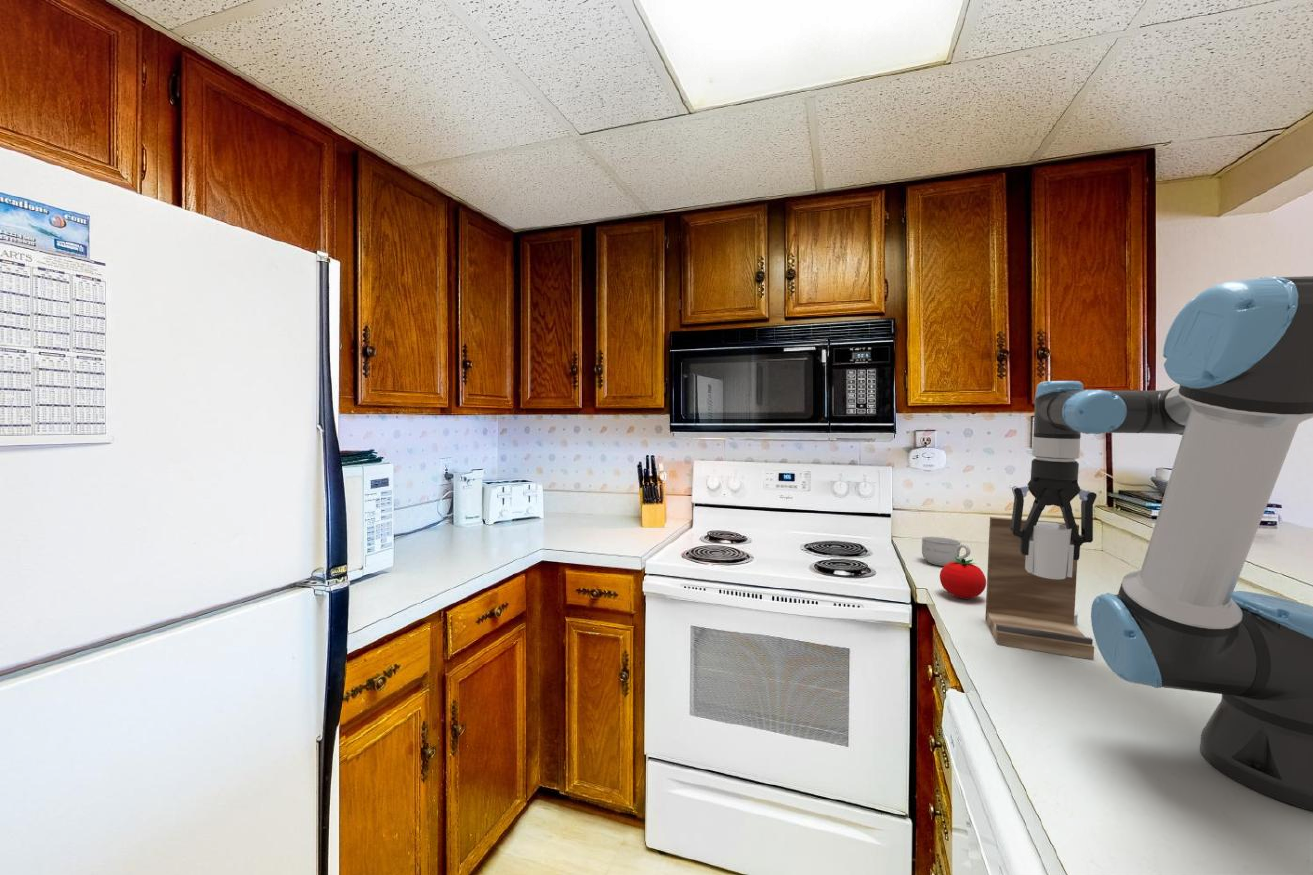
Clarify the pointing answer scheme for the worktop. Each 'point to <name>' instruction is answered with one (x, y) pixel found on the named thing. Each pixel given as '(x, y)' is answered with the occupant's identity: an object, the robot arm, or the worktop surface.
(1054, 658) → the worktop surface
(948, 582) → the tomato
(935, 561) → the teacup
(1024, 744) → the worktop surface
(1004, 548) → the wooden display stand
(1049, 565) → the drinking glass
